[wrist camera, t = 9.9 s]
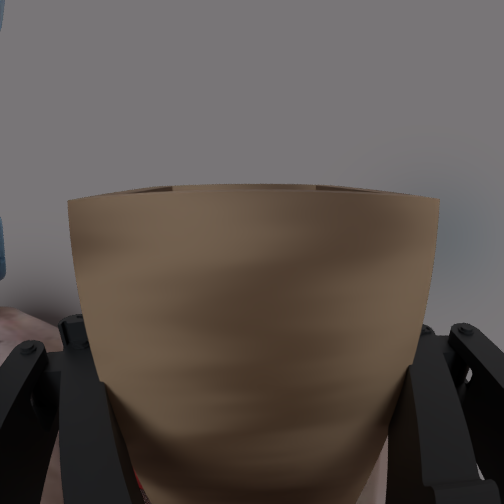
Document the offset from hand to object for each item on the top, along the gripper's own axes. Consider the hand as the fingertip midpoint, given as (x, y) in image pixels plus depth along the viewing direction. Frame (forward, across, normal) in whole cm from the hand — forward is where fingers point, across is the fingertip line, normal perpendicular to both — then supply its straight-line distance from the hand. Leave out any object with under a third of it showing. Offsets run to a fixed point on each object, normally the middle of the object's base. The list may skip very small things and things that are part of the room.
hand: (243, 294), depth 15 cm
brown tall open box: (-5, 0, -6) cm, 8 cm away
